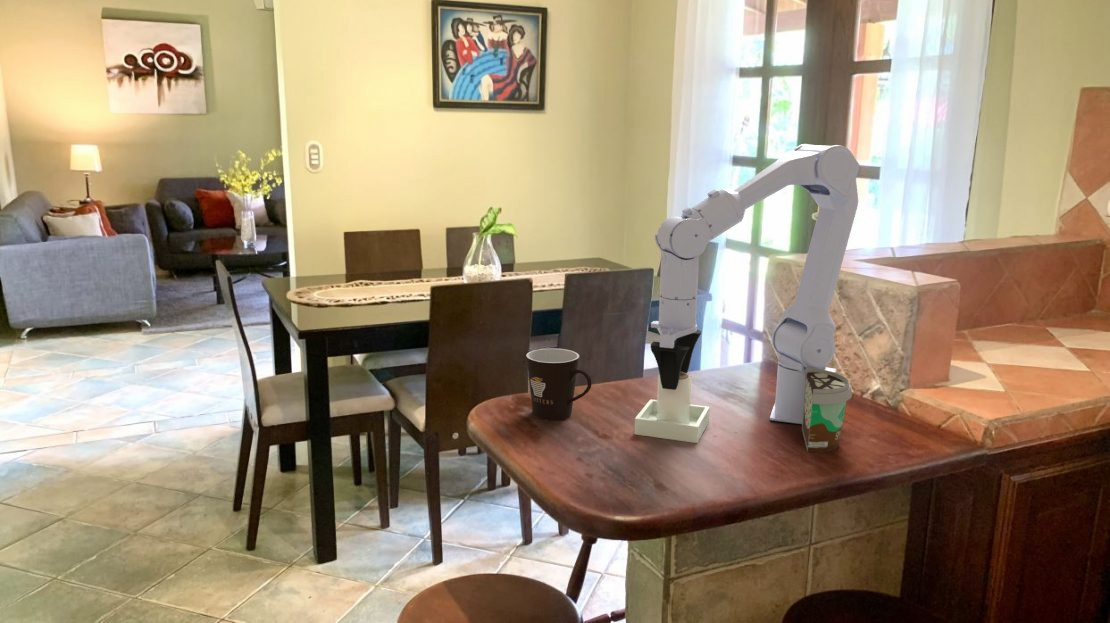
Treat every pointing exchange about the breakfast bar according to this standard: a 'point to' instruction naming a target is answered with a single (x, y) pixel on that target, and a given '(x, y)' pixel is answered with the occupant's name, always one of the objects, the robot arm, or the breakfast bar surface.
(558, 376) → the coffee mug
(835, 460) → the breakfast bar surface
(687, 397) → the cup
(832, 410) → the food container
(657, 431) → the tray
